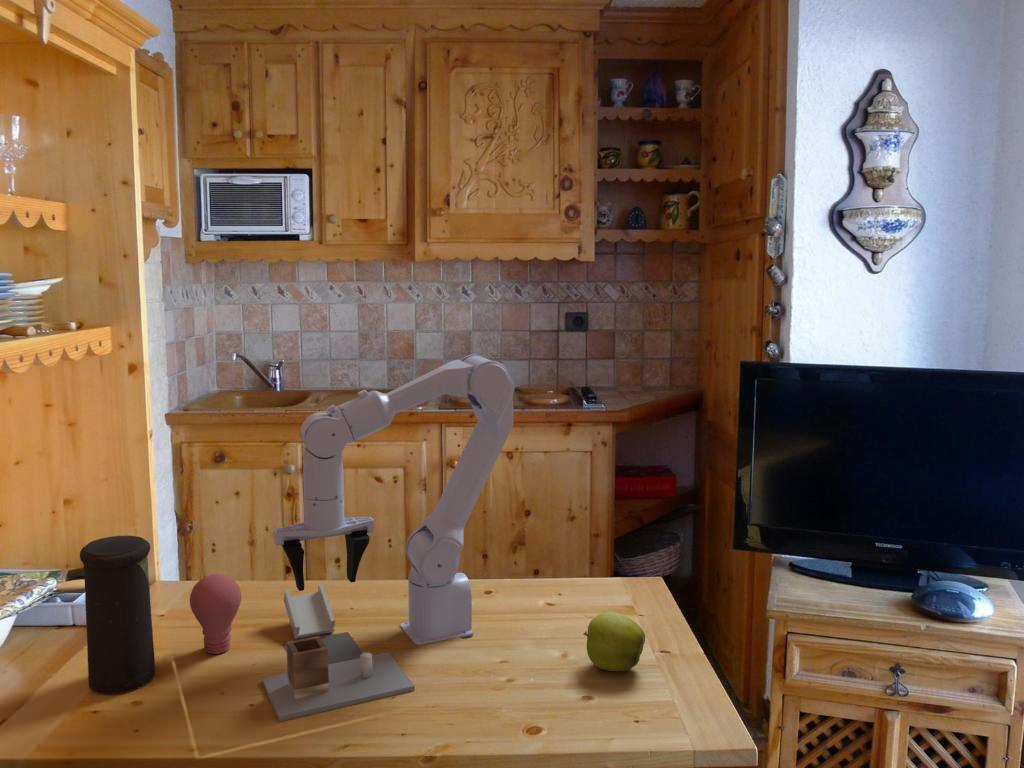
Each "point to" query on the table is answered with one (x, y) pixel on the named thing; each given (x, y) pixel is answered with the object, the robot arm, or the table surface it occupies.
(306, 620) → the feeder chute
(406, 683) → the pin board
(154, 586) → the table surface
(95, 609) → the container
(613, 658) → the apple
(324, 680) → the sleeve
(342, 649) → the mat
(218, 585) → the light bulb
